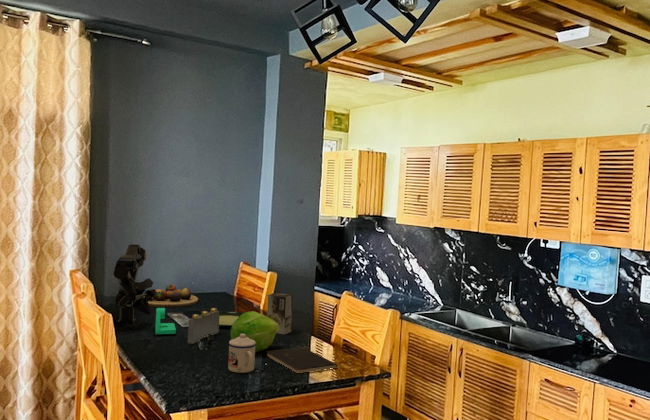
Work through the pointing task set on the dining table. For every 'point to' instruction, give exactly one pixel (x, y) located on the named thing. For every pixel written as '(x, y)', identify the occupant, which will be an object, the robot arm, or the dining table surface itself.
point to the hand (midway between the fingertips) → (149, 314)
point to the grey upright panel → (203, 325)
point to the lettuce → (255, 329)
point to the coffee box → (280, 311)
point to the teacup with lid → (241, 354)
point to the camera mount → (163, 327)
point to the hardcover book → (300, 359)
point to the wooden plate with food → (172, 298)
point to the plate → (228, 318)
